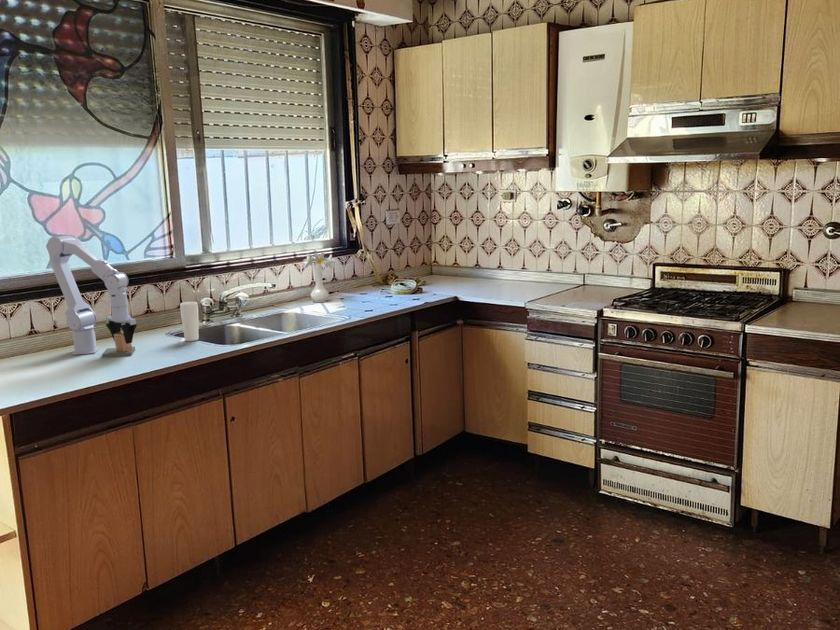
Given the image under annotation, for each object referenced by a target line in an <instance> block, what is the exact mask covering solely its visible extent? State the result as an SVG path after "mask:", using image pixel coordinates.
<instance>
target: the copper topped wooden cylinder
mask: <svg viewBox="0 0 840 630" xmlns="http://www.w3.org/2000/svg"><path fill="white" fill-rule="evenodd" d="M114 339H115V342H114V345H115V348H116V351H117V352H127V351H130V350H132V347H133V346H132V345H133V344H132V343H128V344H126V342H125V337H124V333H123V330H120V332H116V333H114ZM114 339H113V340H114Z"/></svg>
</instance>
